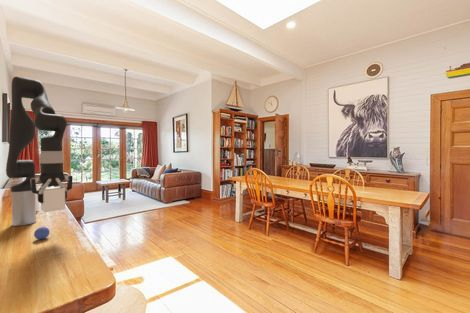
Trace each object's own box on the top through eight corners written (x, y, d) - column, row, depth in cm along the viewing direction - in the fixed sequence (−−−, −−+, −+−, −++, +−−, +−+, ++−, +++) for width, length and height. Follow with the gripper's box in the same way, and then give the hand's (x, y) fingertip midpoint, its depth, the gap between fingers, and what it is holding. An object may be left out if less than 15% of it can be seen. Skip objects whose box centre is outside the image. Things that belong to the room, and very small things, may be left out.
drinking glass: (32, 213, 142) (31, 189, 141) (23, 212, 143) (22, 188, 143) (43, 210, 148) (42, 187, 148) (35, 210, 150) (34, 187, 149)
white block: (40, 209, 96) (40, 188, 96) (60, 206, 101) (60, 186, 101) (44, 212, 92) (44, 190, 91) (65, 209, 97) (64, 188, 97)
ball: (33, 239, 97) (32, 227, 96) (48, 236, 100) (47, 224, 100) (35, 242, 93) (35, 230, 93) (51, 238, 97) (50, 226, 97)
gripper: (69, 161, 104) (70, 197, 104) (27, 162, 93) (28, 203, 93) (75, 161, 99) (75, 199, 99) (30, 163, 88) (31, 206, 88)
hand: (52, 201), depth 96 cm, fingers closed on white block, 7 cm apart
